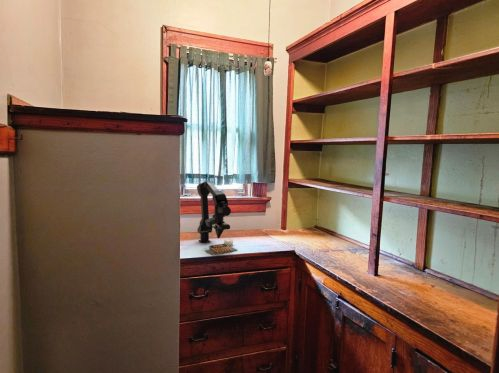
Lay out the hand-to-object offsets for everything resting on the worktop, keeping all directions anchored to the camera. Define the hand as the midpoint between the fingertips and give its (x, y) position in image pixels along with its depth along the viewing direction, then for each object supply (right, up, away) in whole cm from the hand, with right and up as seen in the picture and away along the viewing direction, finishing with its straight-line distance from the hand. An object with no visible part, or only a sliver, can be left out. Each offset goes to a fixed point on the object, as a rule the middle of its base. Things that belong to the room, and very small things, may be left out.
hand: (218, 238), depth 196 cm
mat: (+2, -7, -3) cm, 8 cm away
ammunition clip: (-1, -5, +2) cm, 6 cm away
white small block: (+5, -7, +11) cm, 14 cm away
